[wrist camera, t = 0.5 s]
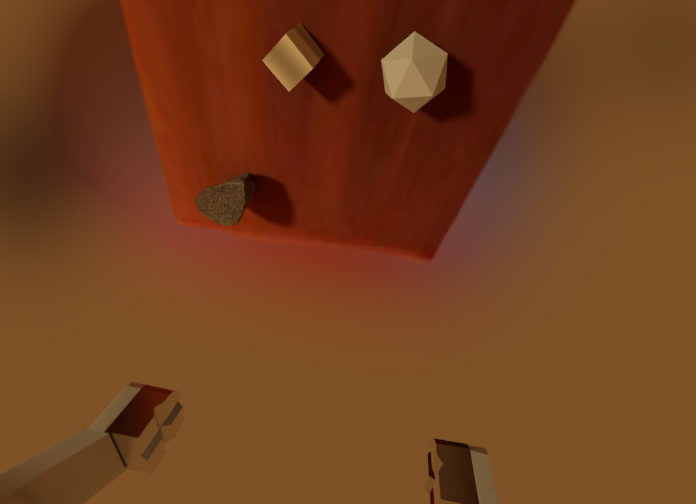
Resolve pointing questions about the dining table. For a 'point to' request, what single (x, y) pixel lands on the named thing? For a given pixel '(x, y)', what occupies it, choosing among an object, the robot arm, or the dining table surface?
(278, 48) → the beech block
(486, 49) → the dining table surface
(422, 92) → the die
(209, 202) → the rock
